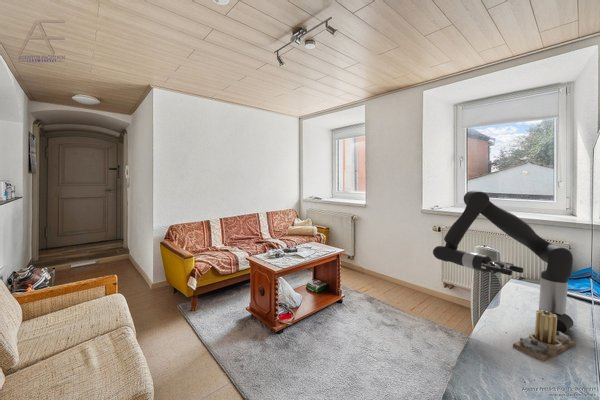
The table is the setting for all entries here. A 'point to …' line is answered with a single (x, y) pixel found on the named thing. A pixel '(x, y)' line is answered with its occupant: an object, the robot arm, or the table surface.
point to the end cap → (563, 322)
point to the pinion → (546, 327)
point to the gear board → (551, 351)
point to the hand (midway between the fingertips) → (517, 271)
